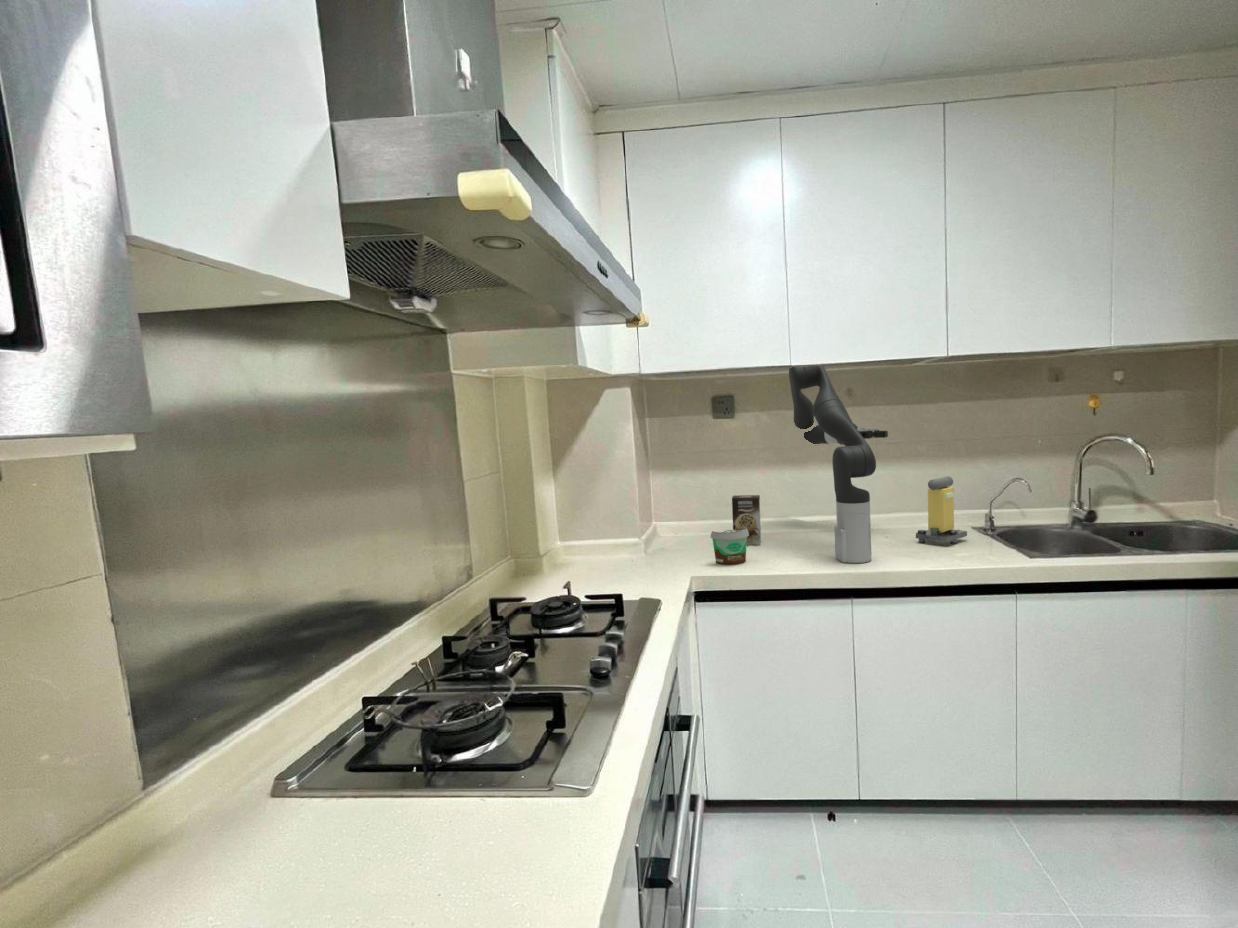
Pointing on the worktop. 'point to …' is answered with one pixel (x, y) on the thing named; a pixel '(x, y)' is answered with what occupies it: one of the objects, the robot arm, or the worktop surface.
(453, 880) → the worktop surface
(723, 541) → the food container
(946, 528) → the grey-capped yellow box
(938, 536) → the tribrach
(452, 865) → the worktop surface
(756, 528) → the coffee box
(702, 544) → the worktop surface
